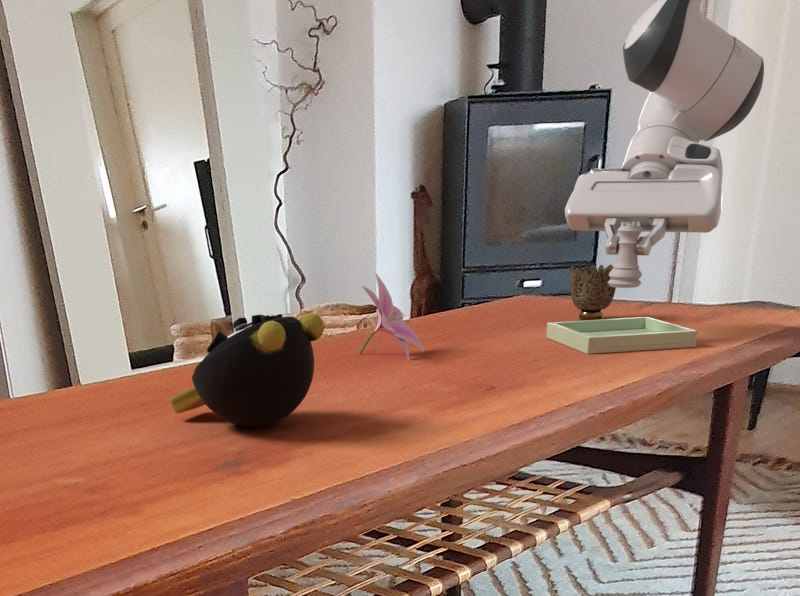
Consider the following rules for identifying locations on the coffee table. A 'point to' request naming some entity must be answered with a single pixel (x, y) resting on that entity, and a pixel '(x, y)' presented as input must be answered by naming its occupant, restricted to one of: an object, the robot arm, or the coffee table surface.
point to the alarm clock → (255, 370)
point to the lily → (391, 319)
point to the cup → (591, 290)
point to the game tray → (621, 335)
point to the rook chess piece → (627, 258)
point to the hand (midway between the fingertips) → (626, 252)
